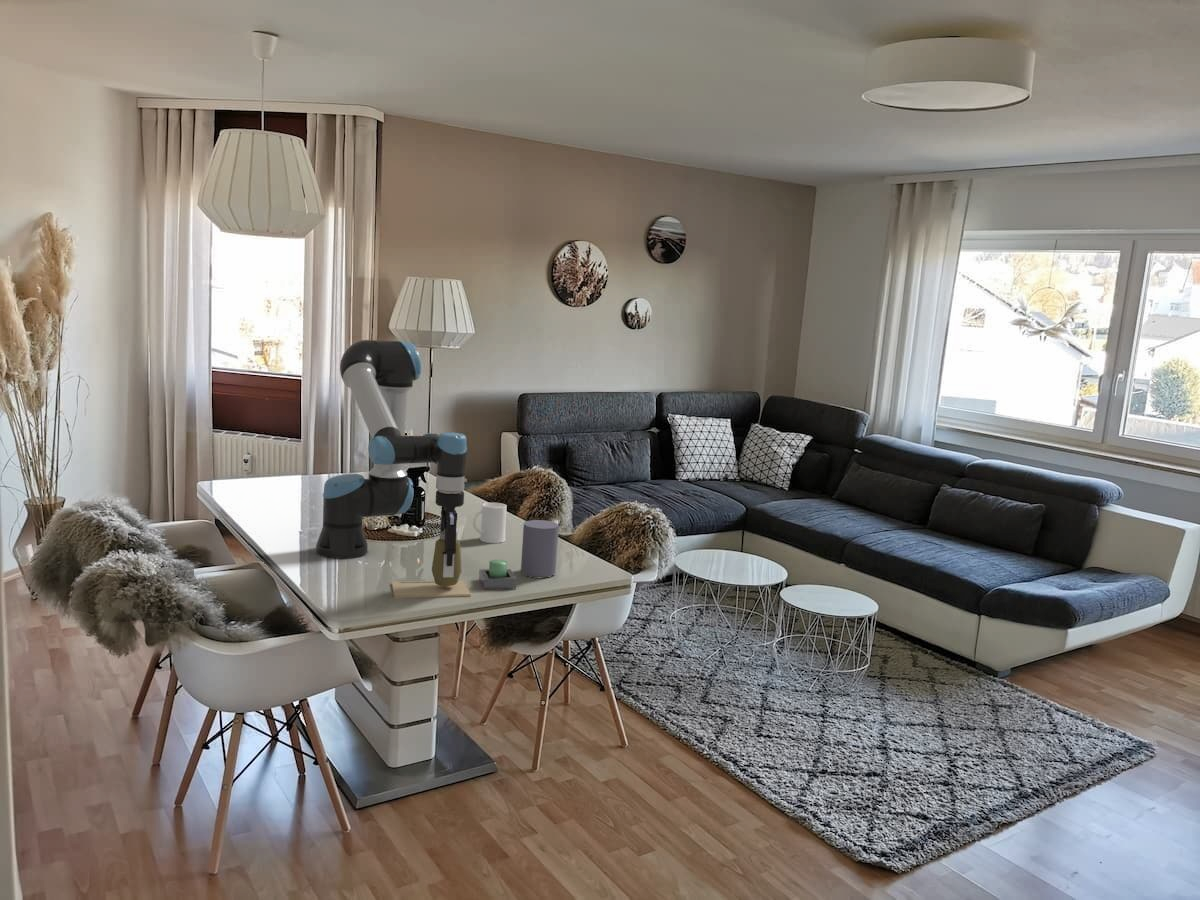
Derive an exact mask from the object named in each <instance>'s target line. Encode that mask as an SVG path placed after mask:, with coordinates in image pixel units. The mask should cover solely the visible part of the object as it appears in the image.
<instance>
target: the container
mask: <svg viewBox="0 0 1200 900" xmlns="http://www.w3.org/2000/svg"><path fill="white" fill-rule="evenodd" d="M559 527H560V525H559V524H558V522H555V521H551V520H542V519H532V520H526V521H524V522H523V527H522V528H523V529H522V530H523V531H522V543H521V545H522V547H521V560H520V561H521V563H520V573H521V574H522V575H524V576H526V575H527V576H526V577H529V576H531V577H530V578H533V577H548V578H550V577H549V576H552V575H553V576H555V575H556V572H557V571H556V570H557V557H558V556H557V555H558V542H559ZM554 574H555V575H554ZM553 576H552V577H553Z"/></svg>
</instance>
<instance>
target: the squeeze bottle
mask: <svg viewBox="0 0 1200 900" xmlns="http://www.w3.org/2000/svg"><path fill="white" fill-rule="evenodd" d="M446 526H447V525H446ZM442 552H445V529H444V531H441V532H440V531H439V539H437V540H436V541H435V545H434V550H433V557H432V566H431V573H432V577H433V579H434V580H433V581H435V584H437V585H440V586H453V585H456V584H457V581H459V578H460V576H461V574H462V557H461V556H462V555H461V541H460V540H458V532H457V531H456V553H455V555H454V575H453V577H443V565H444V554H442Z"/></svg>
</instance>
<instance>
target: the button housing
mask: <svg viewBox="0 0 1200 900" xmlns="http://www.w3.org/2000/svg"><path fill="white" fill-rule="evenodd" d="M478 570H479V573H478V574H479V575H478V581H479V583H480V585H481V587H482V589H483V590H485V591H486V590H489V591H490V590H514V589H513V588H516V589H517V577H516V575H515V574H514V572H513V571H512V569H510V568H509V569H508V568H507V577H495V578H489V569H478Z"/></svg>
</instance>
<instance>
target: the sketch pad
mask: <svg viewBox="0 0 1200 900" xmlns="http://www.w3.org/2000/svg"><path fill="white" fill-rule="evenodd" d="M391 586H392V593H393V598H394V599H400V598H401V599H404V598H405V599H406V598H408V599H409V598H410V599H411V598H447V597H449V598H451V597H456V598H457V597H460V598H461V597H471V593H470V589H469V588H468V585H467V584H466V581H465V580H458V581H457V584H456V585H453V586H440V585H437V584H435V580H419V581H418V580H417V581H415V580H414V581H403V580H402V581H391Z"/></svg>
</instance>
